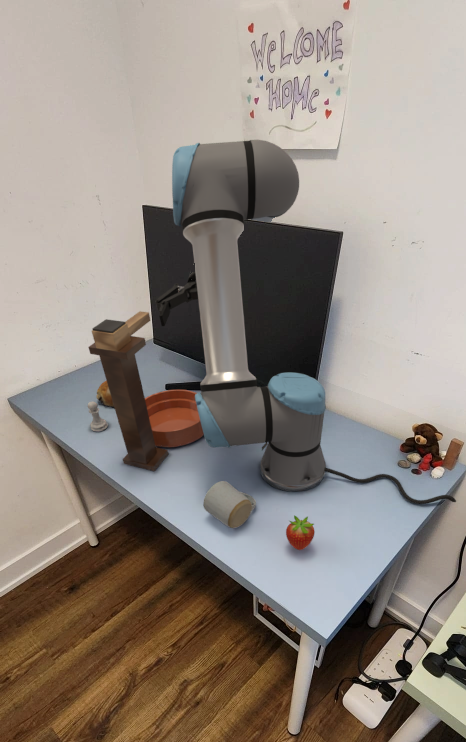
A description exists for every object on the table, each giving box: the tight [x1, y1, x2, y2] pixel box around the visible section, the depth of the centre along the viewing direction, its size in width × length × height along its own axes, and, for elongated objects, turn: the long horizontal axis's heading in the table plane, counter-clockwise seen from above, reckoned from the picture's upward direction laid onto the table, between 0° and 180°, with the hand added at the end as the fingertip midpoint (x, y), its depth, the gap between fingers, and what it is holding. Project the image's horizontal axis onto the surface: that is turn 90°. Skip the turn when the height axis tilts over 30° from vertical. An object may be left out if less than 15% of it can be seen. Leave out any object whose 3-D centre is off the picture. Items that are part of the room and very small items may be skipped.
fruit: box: [285, 515, 316, 551], centre depth 82 cm, size 5×5×8 cm
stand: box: [88, 335, 169, 472], centre depth 96 cm, size 9×7×30 cm
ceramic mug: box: [202, 480, 257, 529], centre depth 89 cm, size 11×8×8 cm
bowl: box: [145, 389, 204, 448], centre depth 115 cm, size 20×20×6 cm
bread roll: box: [96, 379, 114, 408], centre depth 127 cm, size 10×10×8 cm
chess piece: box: [87, 401, 109, 432], centre depth 115 cm, size 5×5×8 cm
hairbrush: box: [91, 310, 151, 351], centre depth 87 cm, size 5×15×4 cm, turn 157°
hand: (188, 320), depth 103 cm, fingers open, 13 cm apart
